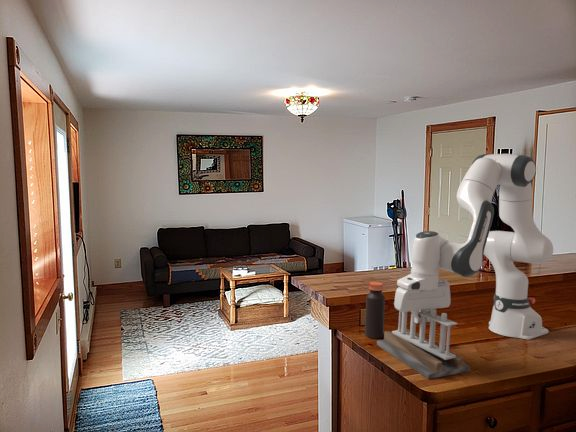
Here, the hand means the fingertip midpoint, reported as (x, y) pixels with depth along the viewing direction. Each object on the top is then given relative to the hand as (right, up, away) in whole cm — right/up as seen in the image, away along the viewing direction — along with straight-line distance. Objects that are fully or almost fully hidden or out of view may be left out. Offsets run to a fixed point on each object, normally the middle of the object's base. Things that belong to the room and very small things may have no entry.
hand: (421, 322), depth 152 cm
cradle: (0, -12, +1) cm, 12 cm away
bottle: (-12, -10, +20) cm, 26 cm away
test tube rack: (0, -8, 0) cm, 8 cm away
